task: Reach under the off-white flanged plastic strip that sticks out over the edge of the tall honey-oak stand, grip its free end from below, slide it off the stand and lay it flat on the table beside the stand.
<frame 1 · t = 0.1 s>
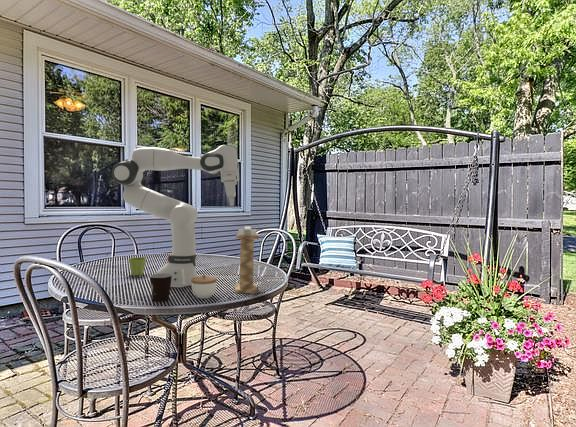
hand: (232, 205, 181), 39 cm above the table, tool pointing down, fingers open, 8 cm apart
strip: (247, 233, 174), point 26 cm above the table, touching stand
coffee mug: (161, 299, 151), on the table
stand: (246, 289, 170), on the table
lidded jar: (203, 297, 156), on the table
plant pot: (137, 275, 197), on the table
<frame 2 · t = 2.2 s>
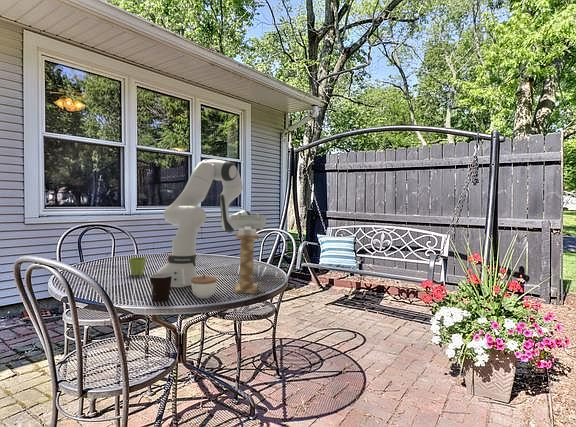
hand: (248, 213, 201), 34 cm above the table, tool pointing upward, fingers open, 8 cm apart
nothing on the table moved.
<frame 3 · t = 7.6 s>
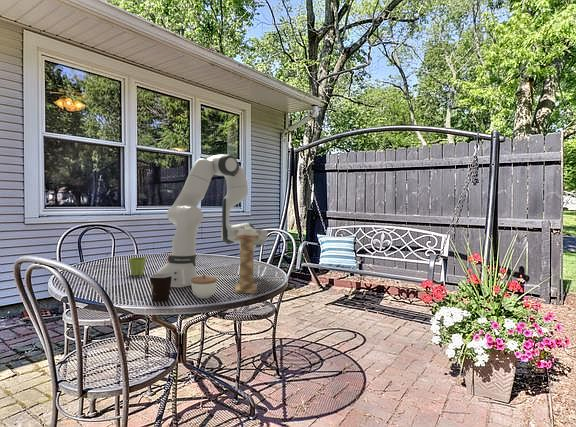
hand: (247, 228, 180), 28 cm above the table, tool pointing upward, fingers closed on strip, 3 cm apart
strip: (247, 233, 174), point 26 cm above the table, touching gripper, stand
everything else where it was.
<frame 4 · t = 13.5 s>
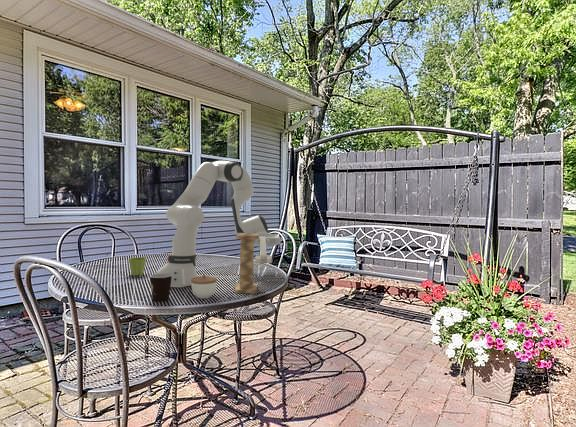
hand: (262, 241, 194), 20 cm above the table, tool horizontal, fingers closed on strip, 3 cm apart
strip: (263, 251, 189), point 15 cm above the table, tilted 28°, touching gripper
everything else where it was.
when the fingers open (11 cm above the table, at t = 16.0 s): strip drops 6 cm, on the table.
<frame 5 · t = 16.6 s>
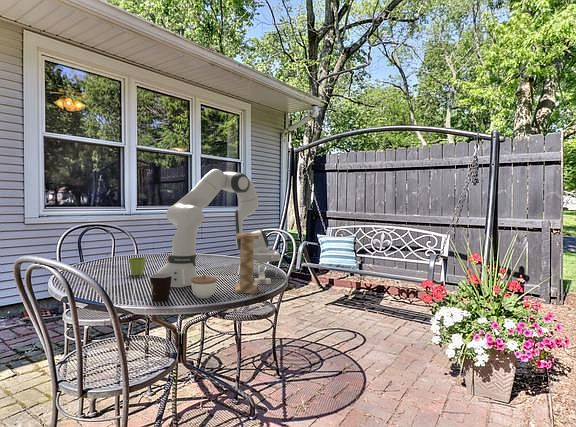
hand: (262, 259, 194), 11 cm above the table, tool horizontal, fingers open, 8 cm apart
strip: (261, 280, 192), on the table
everything else where it was.
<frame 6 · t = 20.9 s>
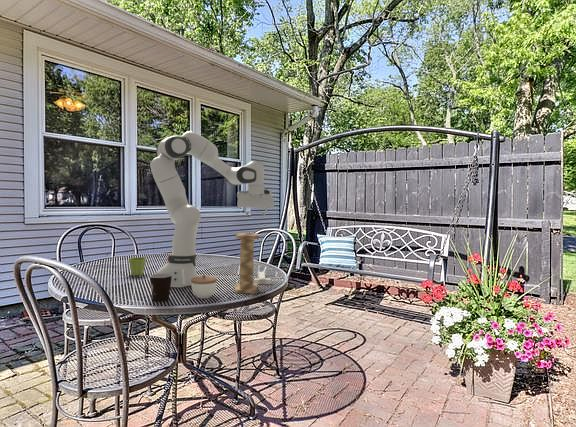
hand: (255, 216, 202), 33 cm above the table, tool pointing down, fingers open, 8 cm apart
nothing on the table moved.
at the end: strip touching table; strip inside the target area (0.8 cm from its centre), on the table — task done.
